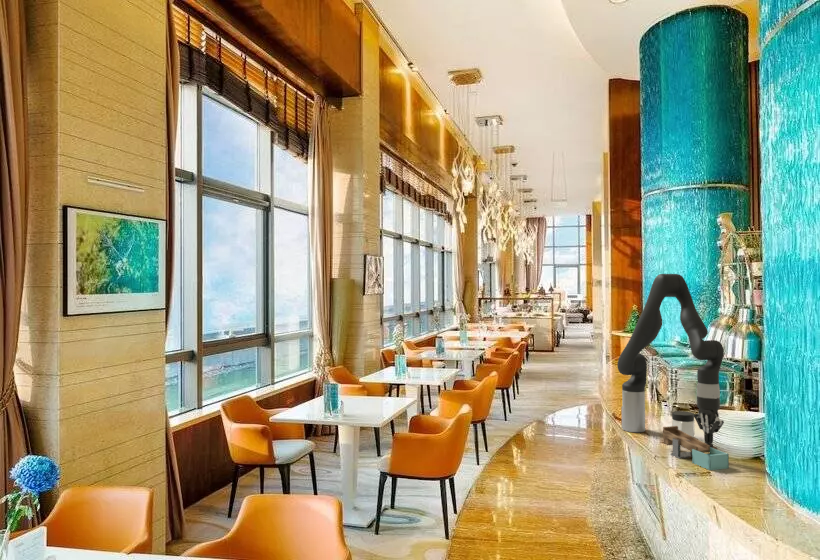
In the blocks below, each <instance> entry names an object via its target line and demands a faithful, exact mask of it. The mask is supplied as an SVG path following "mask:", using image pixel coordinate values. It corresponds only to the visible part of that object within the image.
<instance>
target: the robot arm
mask: <svg viewBox="0 0 820 560" xmlns="http://www.w3.org/2000/svg"><path fill="white" fill-rule="evenodd" d="M665 298H676V300H677V301H678V302H679V304H680V316H679V320H680V324H681V326H682V328H683V329H684V332H685V333H686V335H687V337H688V342H689V345H690V351H691V354H692V356H693V357H694V358H695V359H697V360H698V361H706V363H705V364H704V365H701V366H699V367H698V368H697V377H696V378H697V381H696V382H697V383H696V384H697V385H696V407H697V409H698V411H697V412H698V413H694V420H695V422H696V423H697V426H698V428H699V430H702V431H703V433H704V434H703V435H704V438H703V439H704V443H708V444H710V443H712V444H713V442H714V434H715V433H719V431H720V429H721V428H722V426H723V425H724V423H725V421H724V420H721V419H720V415H719V412H718V411H719V410H720V409H721V396H720V395H721V393H720V392H721V391H720V390H721V387H720V379H719V377H720V375H719V374H720V373H719V372H720V370H721V367H722V366H721V365H722V363H723V358H724V355H725V353H724V352H725V350H724V346H723V345H722V343H721V341H719V340H715V339H714V340H713V339H711V340H704V338H706V337H707V336H708V333H709V330H708V329H707V328H708V327H706V325H705V323H704V321H703V319H702V318H701V316H700V315H699V312H698V310H697V308H696V306H695V303H694V299H693V298H692V295H691V293H690V289H689V286H688V284H687V282H686V280H685V278H684V276H682V275H681V274H678V273H659V274H657V276H656V277H655V278H654V279H653V282H652V284H651V288H650V291H649V292H648V297H647V300H646V303H645V305H644V307H643V310H642V312H641V314H640V316H639V317H638V320H637V322H636V325H635V326H634V329H633V331H632V334H631V335H630V338H629V340H628V342H627V343H626V345H625V347H624V348H623V350H622V351H621V353H620V355H619V357H618V360H617V370H618V373H620V374H621V375H623V376H630V378H628V380H627V381H624V382H623V383H622V384H621V386H622V387H621V388H622V389H621V396H622V399H621V400H622V403H621V404H622V405H621V407H620V408H621V429H622V430H623V431H626V432H628V433H629V432H630V433H643V432H645V431H646V393H645V391H646V390H645V389H646V385H647V376H648V375H647V373H648V372H647V371H648V370H647V369H648V364H647V359H646V356H644V354H642V353H640V352H641V351H643V350H644V349H646V347H648V346H649V345H650V344H652V343H653V342H654V340H655V339H656V338H657V337H658V335H659V333H660V331H661V329H662V327H663V317H662V312H661V309H660V308H661V305H662V303H663V301H664V299H665Z"/></svg>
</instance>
